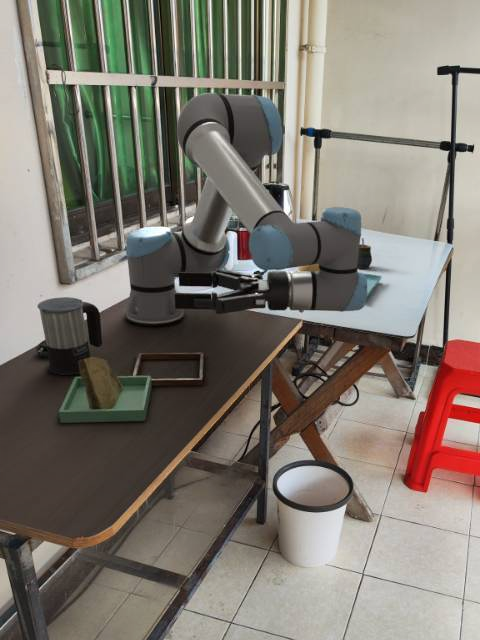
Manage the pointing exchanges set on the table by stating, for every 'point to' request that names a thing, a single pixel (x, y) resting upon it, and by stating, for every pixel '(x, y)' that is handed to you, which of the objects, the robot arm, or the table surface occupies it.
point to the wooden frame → (172, 356)
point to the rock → (99, 383)
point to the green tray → (125, 409)
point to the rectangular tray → (371, 282)
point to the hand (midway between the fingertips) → (176, 289)
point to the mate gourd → (364, 256)
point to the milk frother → (68, 333)
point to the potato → (310, 268)
